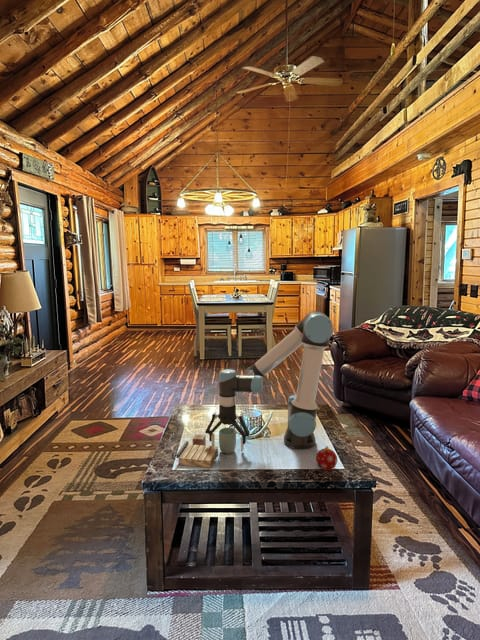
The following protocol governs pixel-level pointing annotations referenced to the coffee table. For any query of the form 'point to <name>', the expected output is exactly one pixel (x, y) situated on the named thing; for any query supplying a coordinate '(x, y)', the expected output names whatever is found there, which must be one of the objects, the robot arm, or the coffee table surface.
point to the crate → (199, 440)
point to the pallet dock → (197, 455)
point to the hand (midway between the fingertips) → (227, 449)
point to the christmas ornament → (326, 459)
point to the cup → (227, 440)
